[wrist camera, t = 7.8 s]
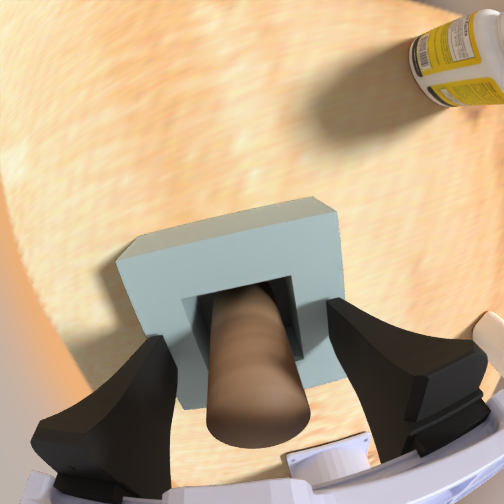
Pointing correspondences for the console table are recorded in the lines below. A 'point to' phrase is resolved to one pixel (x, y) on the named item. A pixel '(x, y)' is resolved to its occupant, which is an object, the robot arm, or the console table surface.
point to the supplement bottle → (462, 60)
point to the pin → (252, 372)
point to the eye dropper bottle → (491, 339)
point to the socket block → (239, 284)
